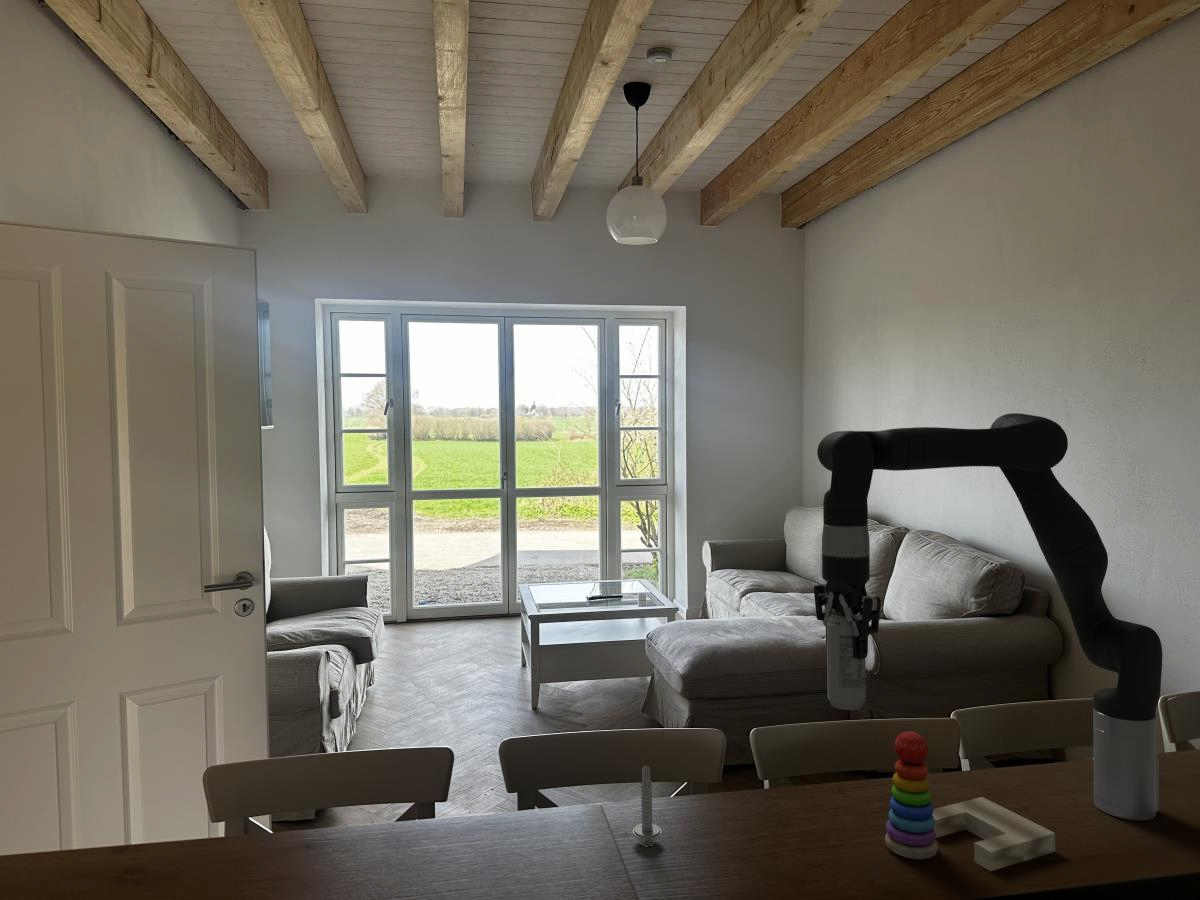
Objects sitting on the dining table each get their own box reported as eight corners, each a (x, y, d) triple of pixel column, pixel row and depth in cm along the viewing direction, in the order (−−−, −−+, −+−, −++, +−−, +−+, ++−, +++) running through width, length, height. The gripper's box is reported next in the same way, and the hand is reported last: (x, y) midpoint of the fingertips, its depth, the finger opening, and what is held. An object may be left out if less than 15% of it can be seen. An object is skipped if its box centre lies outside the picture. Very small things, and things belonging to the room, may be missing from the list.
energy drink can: (855, 698, 135) (854, 609, 134) (872, 710, 129) (871, 617, 128) (821, 700, 134) (820, 611, 134) (836, 712, 128) (836, 619, 128)
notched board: (982, 813, 139) (981, 796, 139) (1055, 851, 126) (1054, 833, 126) (920, 830, 134) (920, 812, 134) (990, 871, 121) (990, 851, 121)
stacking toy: (943, 864, 123) (942, 744, 123) (888, 859, 125) (887, 741, 125) (932, 838, 131) (931, 726, 131) (881, 834, 133) (880, 723, 132)
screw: (665, 838, 132) (657, 853, 128) (637, 834, 134) (628, 848, 129) (663, 761, 132) (656, 772, 127) (635, 757, 134) (627, 769, 129)
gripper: (895, 556, 126) (895, 661, 126) (835, 545, 139) (835, 640, 139) (857, 559, 123) (857, 667, 123) (799, 548, 136) (800, 645, 136)
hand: (846, 653), depth 131 cm, fingers closed on energy drink can, 6 cm apart
